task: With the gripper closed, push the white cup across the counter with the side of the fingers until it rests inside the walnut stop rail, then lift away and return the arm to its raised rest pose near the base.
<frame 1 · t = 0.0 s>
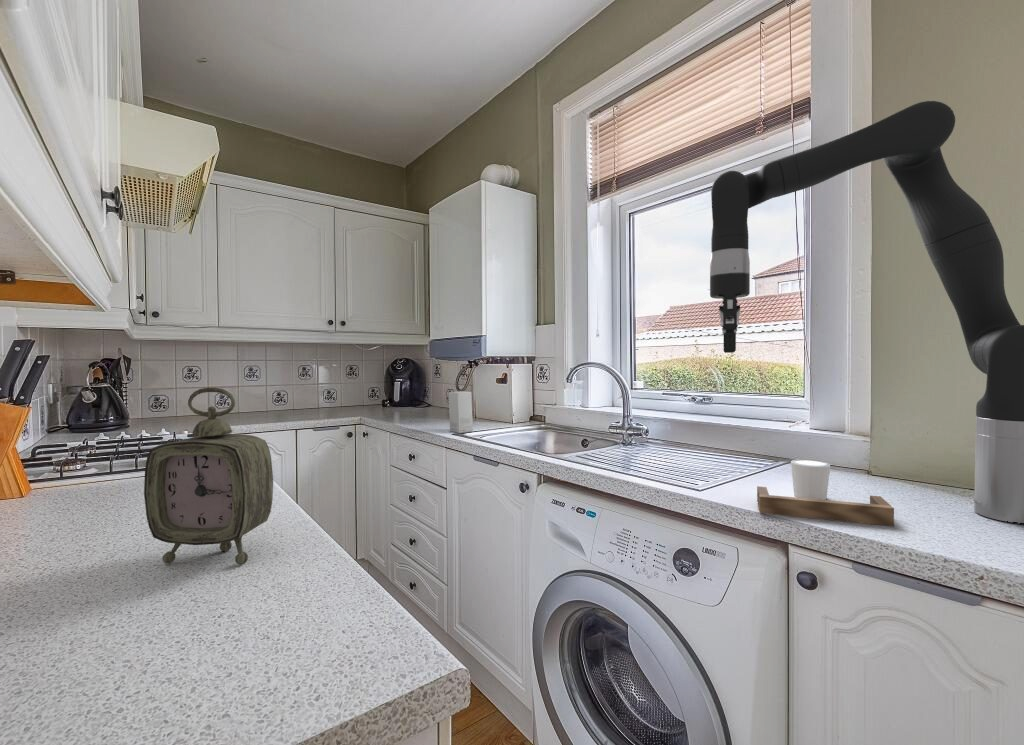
hand: (729, 352, 103), 29 cm above the counter, tool pointing down, fingers open, 8 cm apart
skincare box: (460, 432, 194), on the counter
tabletop clock: (217, 557, 73), on the counter
stop rail: (823, 517, 87), on the counter
white cup: (809, 497, 100), on the counter
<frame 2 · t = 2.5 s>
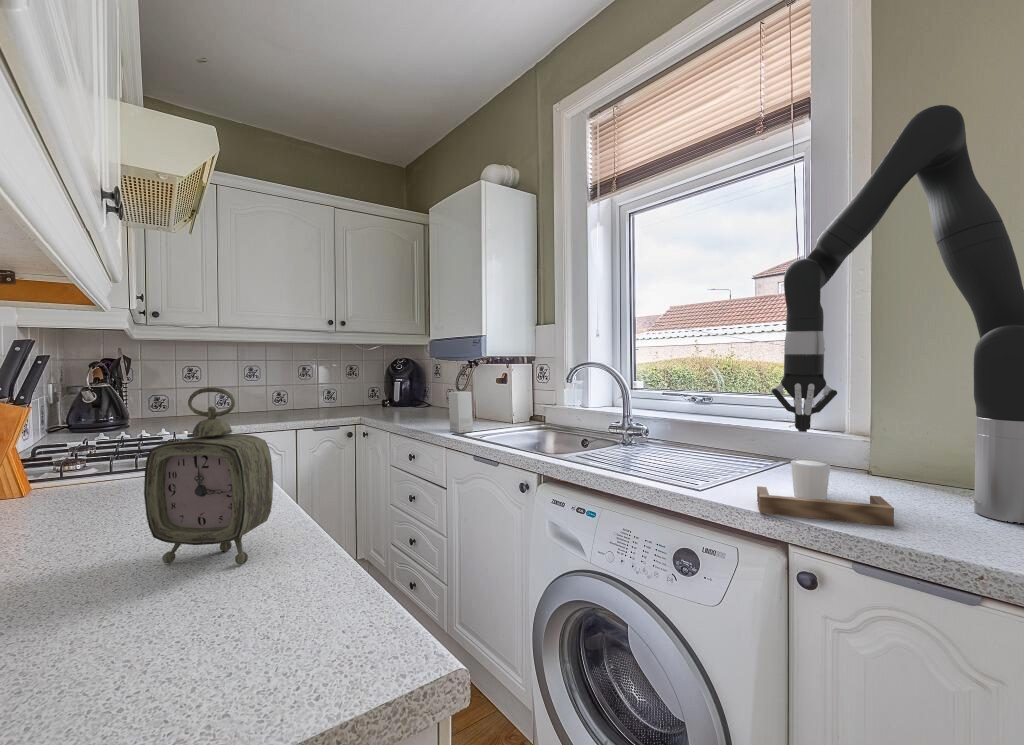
hand: (802, 431, 109), 12 cm above the counter, tool pointing down, fingers closed
nothing on the counter moved.
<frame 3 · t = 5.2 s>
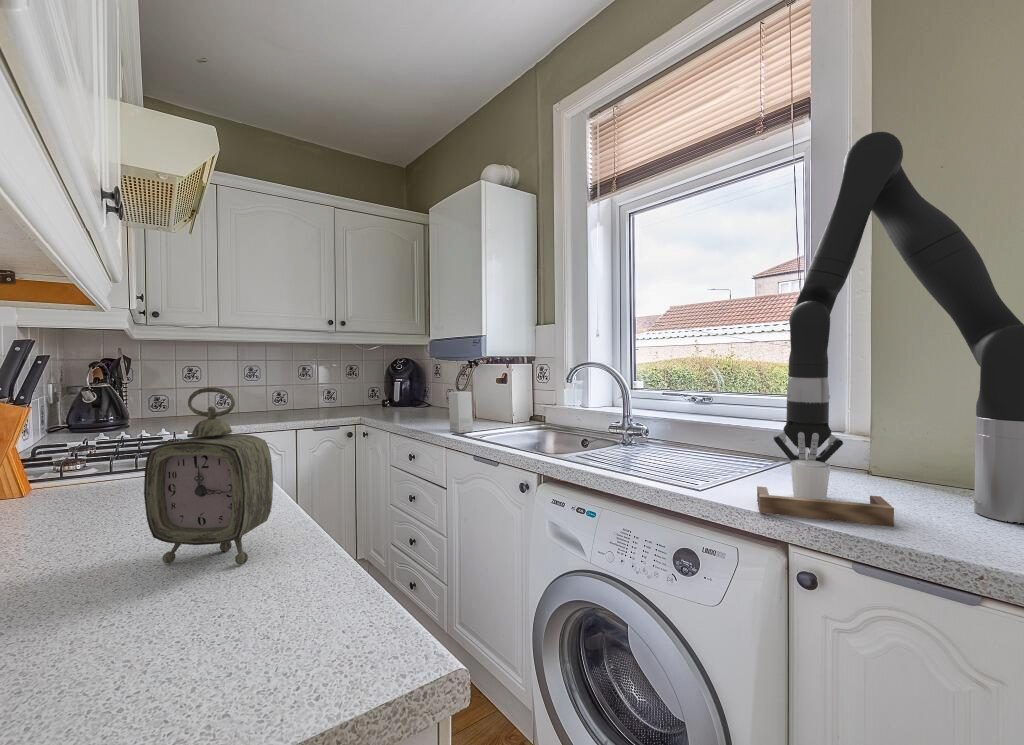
hand: (806, 481, 104), 2 cm above the counter, tool pointing down, fingers closed
white cup: (809, 498, 100), on the counter, touching gripper
everything else where it was.
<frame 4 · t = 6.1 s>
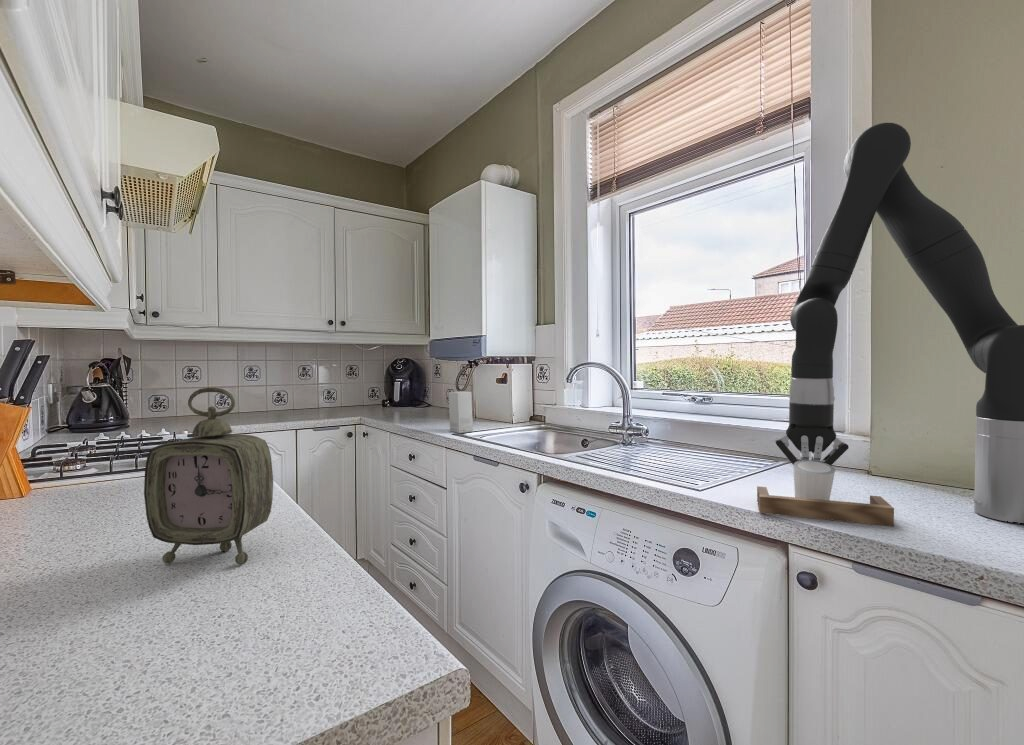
hand: (809, 487, 99), 2 cm above the counter, tool pointing down, fingers closed
white cup: (811, 501, 96), on the counter, touching gripper
everything else where it was.
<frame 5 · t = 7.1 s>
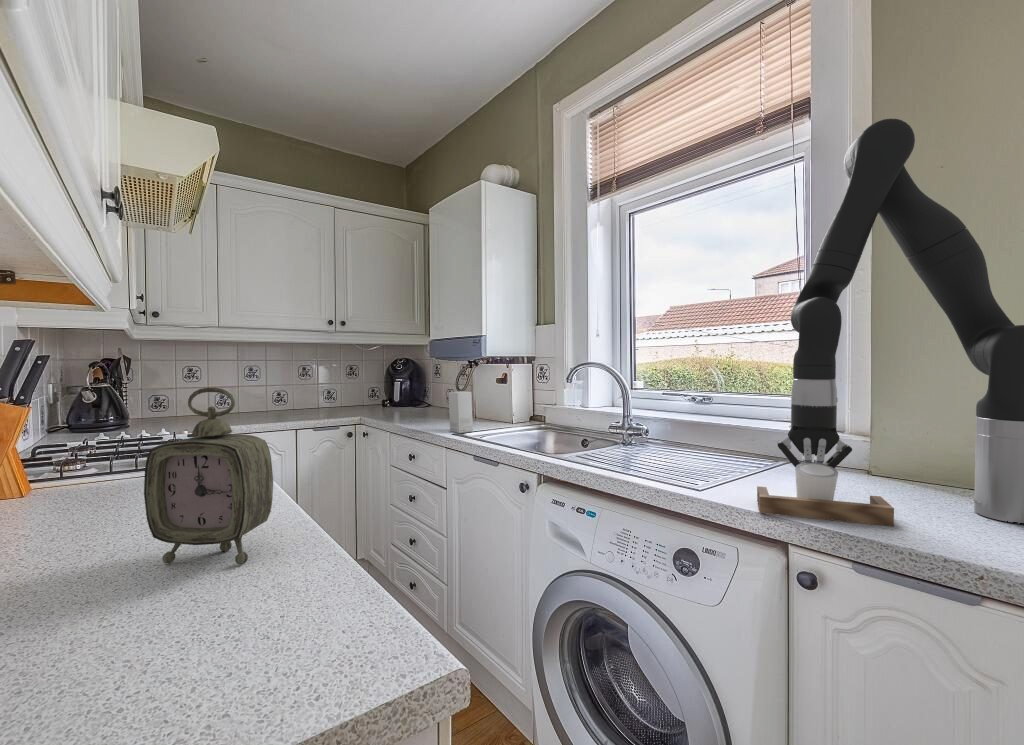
hand: (812, 491, 97), 2 cm above the counter, tool pointing down, fingers closed
white cup: (814, 505, 94), on the counter, touching gripper
everything else where it was.
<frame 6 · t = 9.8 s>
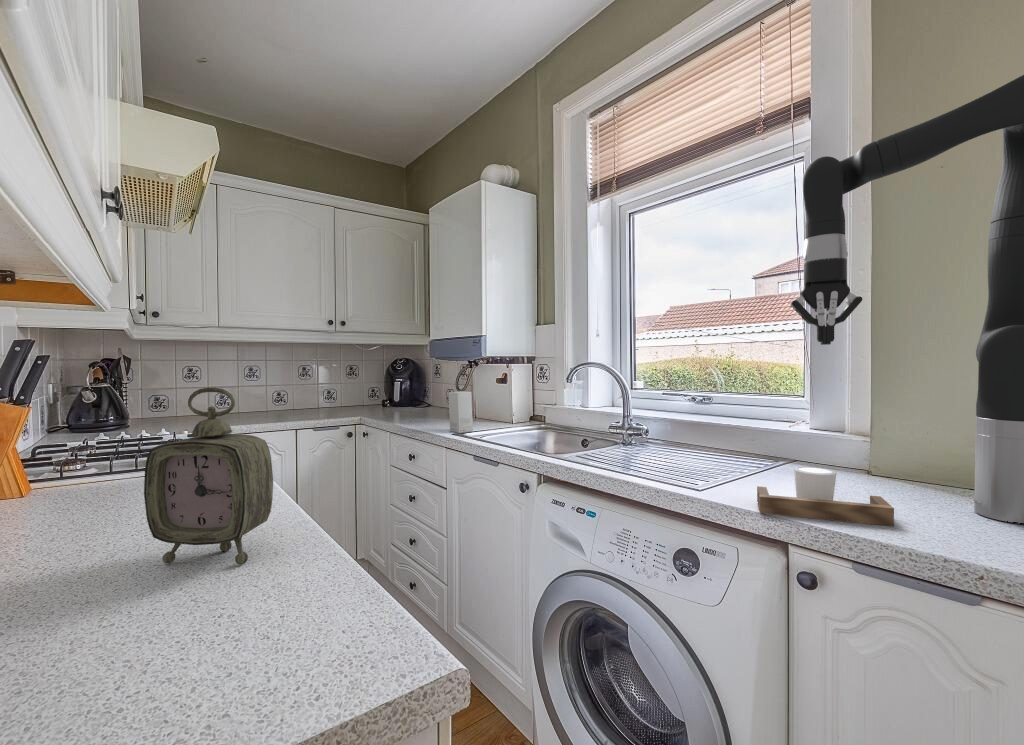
hand: (825, 344, 102), 31 cm above the counter, tool pointing down, fingers closed
white cup: (814, 507, 94), on the counter
everything else where it was.
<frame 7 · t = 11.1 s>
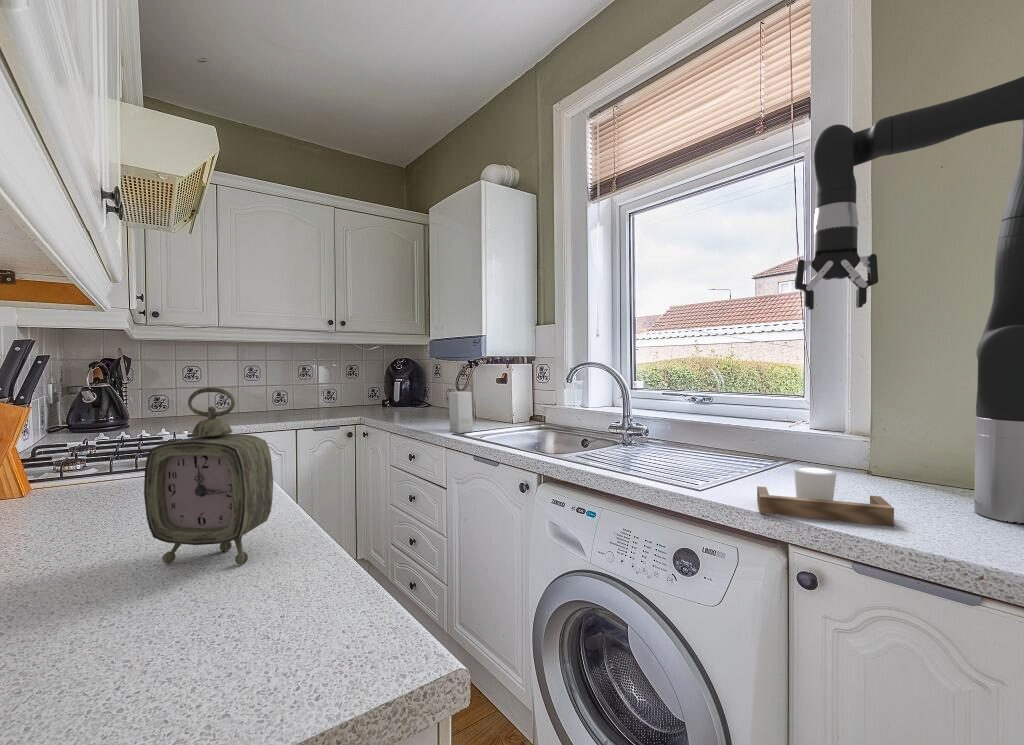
hand: (834, 308, 103), 38 cm above the counter, tool pointing down, fingers open, 8 cm apart
nothing on the counter moved.
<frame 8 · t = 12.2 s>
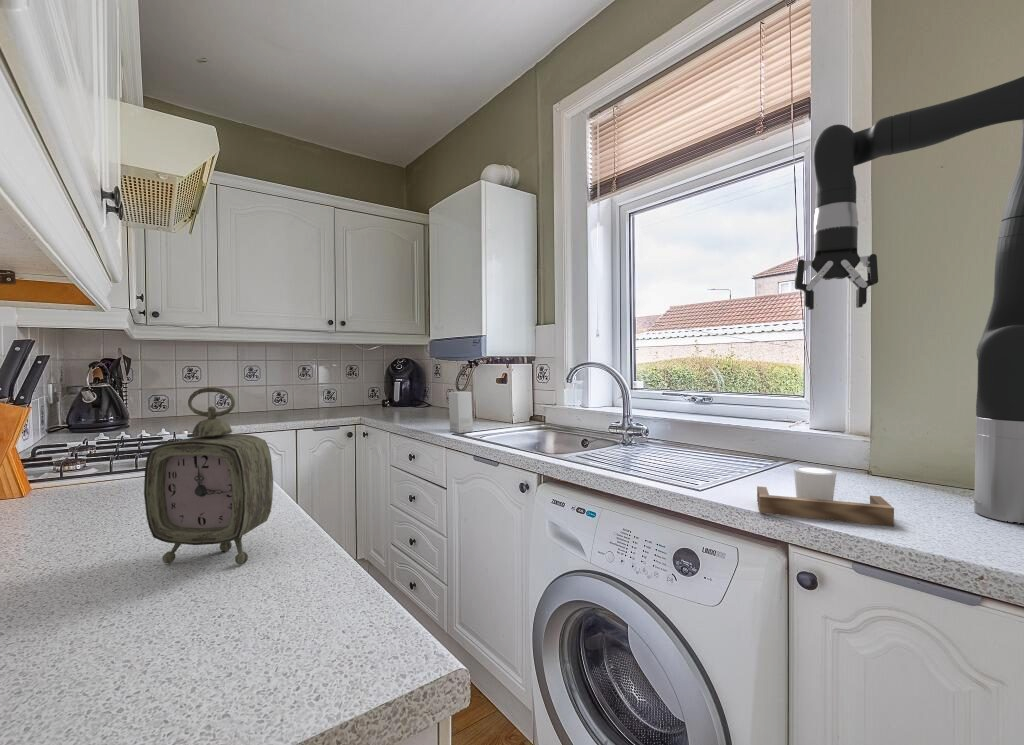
hand: (834, 308, 103), 38 cm above the counter, tool pointing down, fingers open, 8 cm apart
nothing on the counter moved.
at the end: white cup inside the target area (1.9 cm from its centre), on the counter; white cup tilted 0°; white cup moved 7.1 cm from its start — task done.
